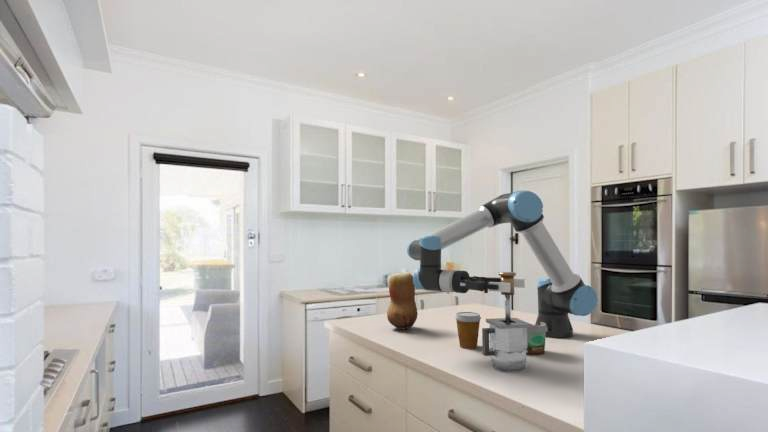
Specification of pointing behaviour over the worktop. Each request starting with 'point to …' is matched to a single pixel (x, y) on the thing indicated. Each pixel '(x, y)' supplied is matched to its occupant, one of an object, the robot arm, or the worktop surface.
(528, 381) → the worktop surface
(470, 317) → the disposable coffee cup
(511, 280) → the plunger
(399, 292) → the butternut squash
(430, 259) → the robot arm
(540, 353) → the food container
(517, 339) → the press carafe
